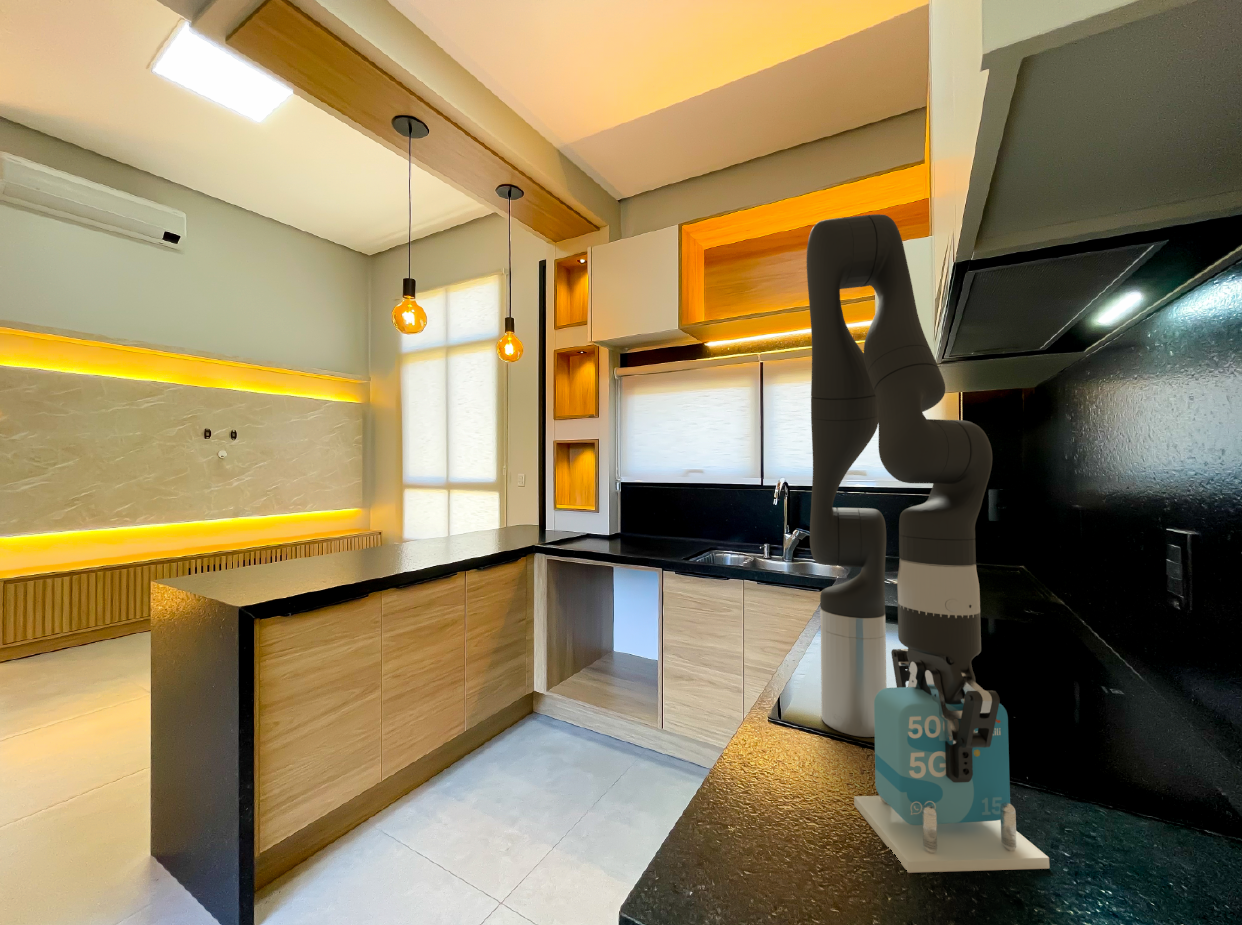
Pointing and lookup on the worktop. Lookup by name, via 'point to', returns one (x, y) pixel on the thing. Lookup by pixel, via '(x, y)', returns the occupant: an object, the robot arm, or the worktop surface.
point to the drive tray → (948, 843)
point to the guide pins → (931, 827)
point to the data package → (934, 761)
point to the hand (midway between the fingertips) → (940, 764)
